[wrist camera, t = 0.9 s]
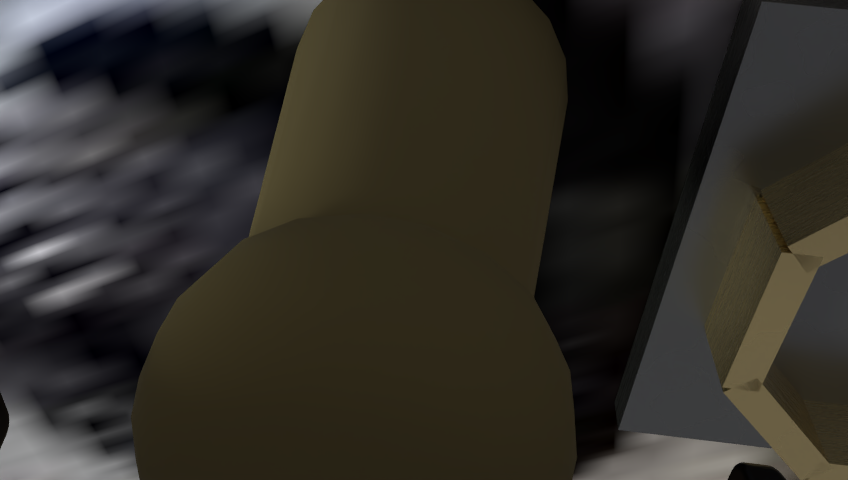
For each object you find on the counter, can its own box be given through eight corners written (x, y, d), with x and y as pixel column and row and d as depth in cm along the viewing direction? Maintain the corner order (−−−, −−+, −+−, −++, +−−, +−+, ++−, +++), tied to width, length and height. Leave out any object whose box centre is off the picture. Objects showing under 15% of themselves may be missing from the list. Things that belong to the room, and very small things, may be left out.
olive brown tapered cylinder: (279, -52, 15) (-57, 316, 6) (586, -44, 15) (695, 370, 6) (306, 201, 19) (117, 663, 10) (553, 215, 18) (589, 714, 9)
